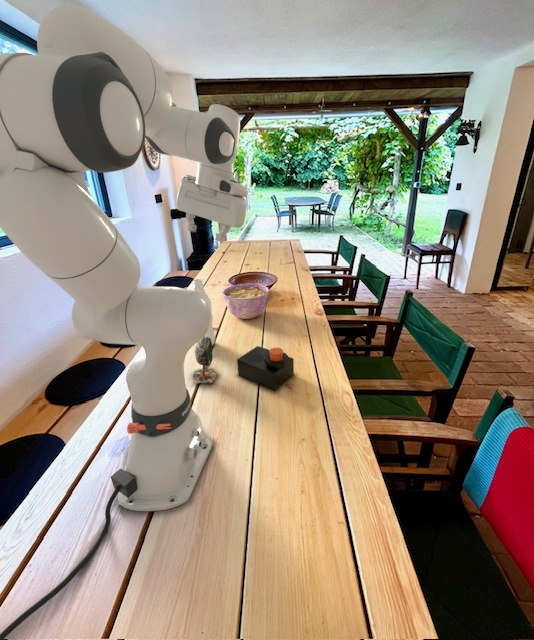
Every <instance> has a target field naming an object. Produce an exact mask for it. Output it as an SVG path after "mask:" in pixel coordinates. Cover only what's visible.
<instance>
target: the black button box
mask: <svg viewBox="0 0 534 640" xmlns="http://www.w3.org/2000/svg"><path fill="white" fill-rule="evenodd" d="M269 351H270V349H268V348H264V347H262V346H259V345H256V346H255V347H254V348H252V349H250V350H249V351H247V352H246V353H244V354H243V355H241V356H240V357H238V358H237V359H236V364H237V375H238V377H241V378H243V379H245V380H248V381H250V382H252V383H254V384H256V385H258V386H261V387H263V388H265V389H267V390H270V391H273V392H276V391H277V390H278V389H279V388H280V387H282V386H283V385H284V384H285V383H286V382H287V381H289V380H290V379H291V378H292V377H293V376H294V375H295V374H294V373H295V372H294V370H295V368H294V365H295V364H294V357H290V356H289V355H288V354H287V353H286V352H283V360H282V361H278V362H276V361H271V360H270V354H269Z"/></svg>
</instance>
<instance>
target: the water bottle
mask: <svg viewBox="0 0 534 640" xmlns="http://www.w3.org/2000/svg"><path fill="white" fill-rule="evenodd" d="M192 287H193V291H196V292H199V293H200V294H201V295H202V296H203V297H204V298H205V300H206V302H207V303H208V306H209V309H210V324H209V328H208V330H207V332H206V334H205V335H204V336H203V338H204V337H209V338H210V339H211V343H212V347H213V346H214V344H215V343H216V333H215V330H214V326H213V321H214V315H213V311H212V310H213V309H212V300H211V298H210V296H209V294H208V293H207V292H206V291H205V288H204V287H205V286H204V281H203V279H202V278H195V279H193V286H192ZM199 342H200V341H199ZM199 342H197V343H196V344H197V345H198V343H199Z"/></svg>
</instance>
